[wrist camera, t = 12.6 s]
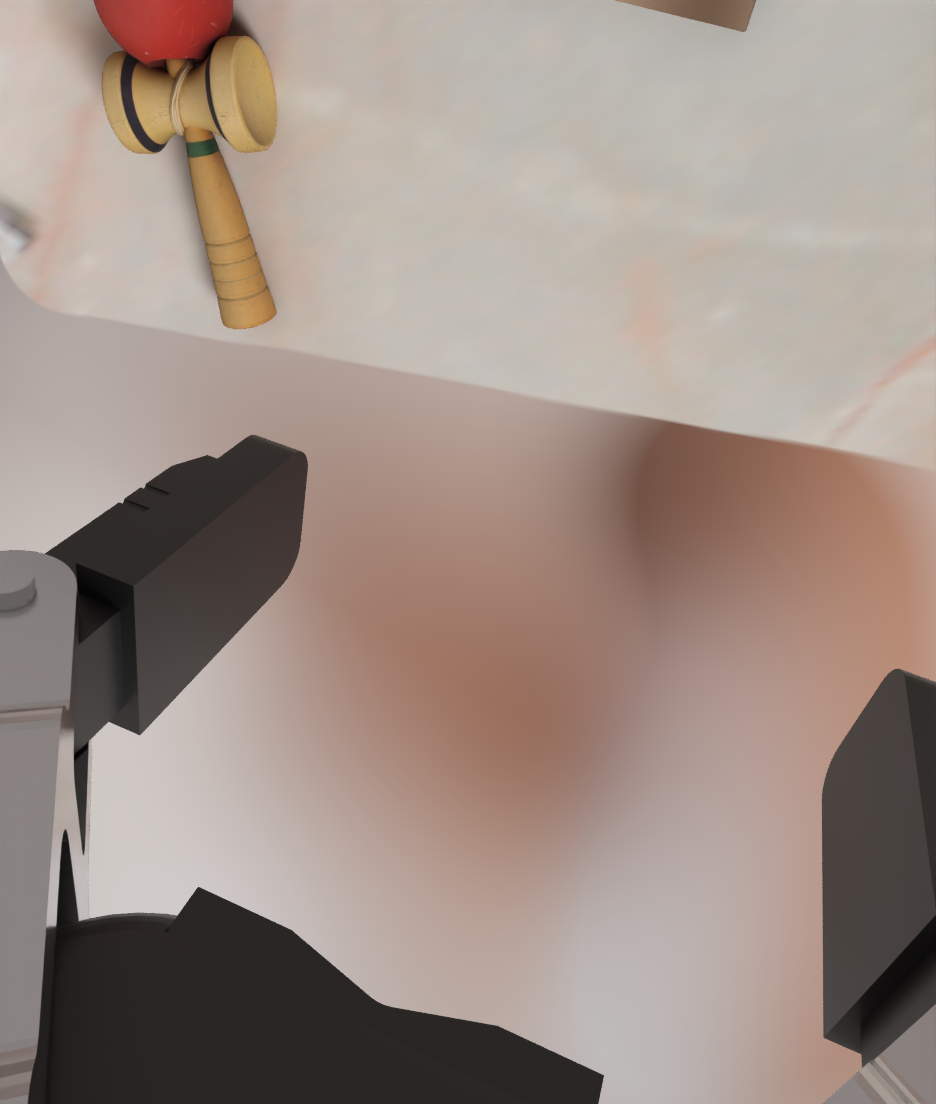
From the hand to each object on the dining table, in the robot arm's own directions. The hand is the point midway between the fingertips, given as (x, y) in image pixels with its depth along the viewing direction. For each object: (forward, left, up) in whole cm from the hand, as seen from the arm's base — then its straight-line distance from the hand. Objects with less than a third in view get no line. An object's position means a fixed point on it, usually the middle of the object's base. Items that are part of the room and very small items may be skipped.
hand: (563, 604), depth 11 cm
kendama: (+25, +4, -32) cm, 41 cm away
